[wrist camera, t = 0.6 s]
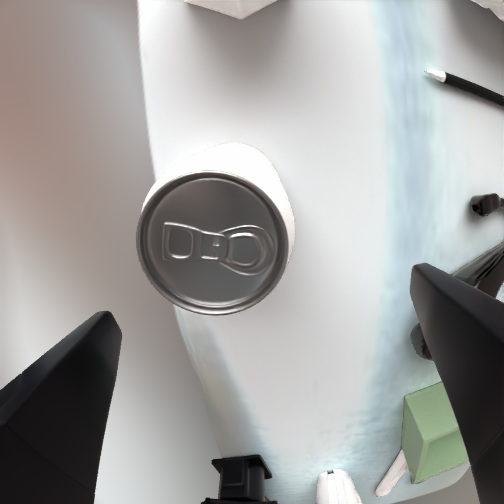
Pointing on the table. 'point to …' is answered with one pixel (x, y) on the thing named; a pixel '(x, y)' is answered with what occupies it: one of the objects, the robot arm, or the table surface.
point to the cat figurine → (474, 267)
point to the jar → (233, 6)
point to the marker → (392, 475)
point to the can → (216, 231)
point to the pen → (467, 86)
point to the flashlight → (337, 488)
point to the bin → (431, 434)
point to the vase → (493, 6)
